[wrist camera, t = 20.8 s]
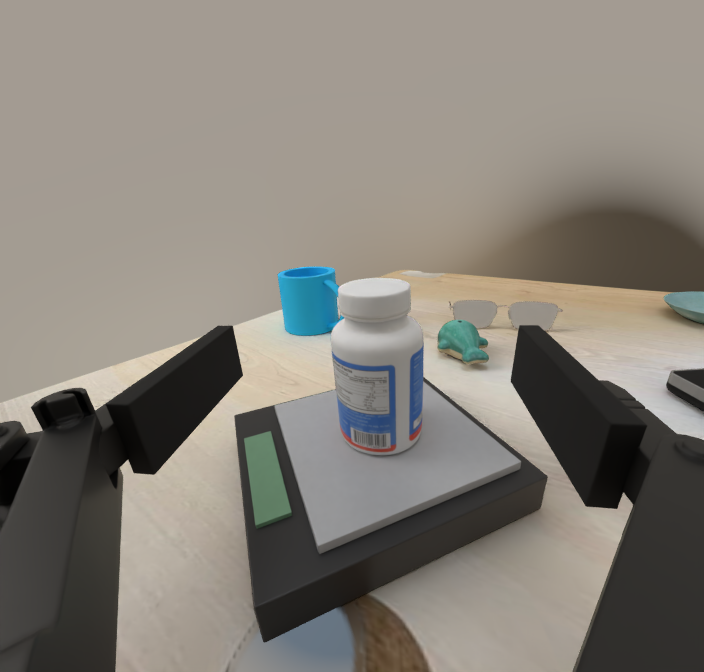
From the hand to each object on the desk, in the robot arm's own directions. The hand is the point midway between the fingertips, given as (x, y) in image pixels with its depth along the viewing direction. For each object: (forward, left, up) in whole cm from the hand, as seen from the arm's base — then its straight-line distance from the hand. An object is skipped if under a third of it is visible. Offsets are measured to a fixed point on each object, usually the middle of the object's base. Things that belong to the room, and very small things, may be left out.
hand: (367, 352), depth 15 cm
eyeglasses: (+30, +21, -11) cm, 38 cm away
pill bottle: (+2, +3, -8) cm, 9 cm away
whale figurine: (+18, +14, -11) cm, 26 cm away
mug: (+6, +31, -11) cm, 34 cm away
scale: (+1, +3, -11) cm, 11 cm away
